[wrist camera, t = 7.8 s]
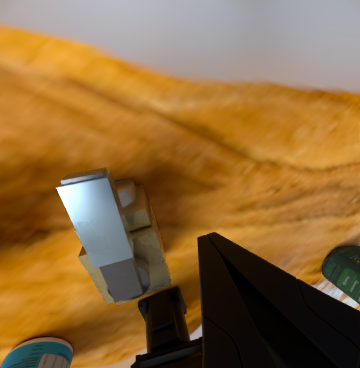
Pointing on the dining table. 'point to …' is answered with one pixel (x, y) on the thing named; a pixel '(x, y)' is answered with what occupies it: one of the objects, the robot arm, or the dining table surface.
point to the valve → (136, 240)
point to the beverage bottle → (40, 354)
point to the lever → (104, 232)
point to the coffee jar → (344, 270)
